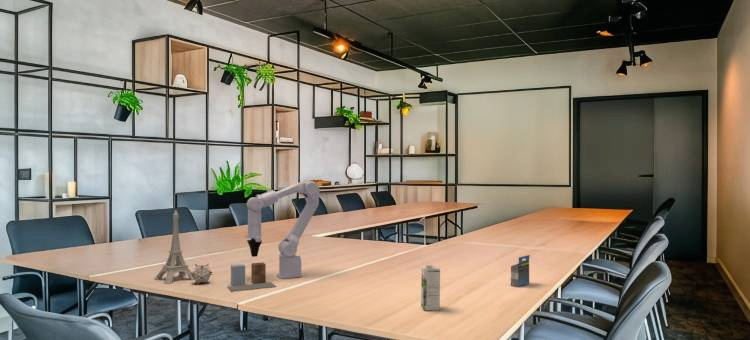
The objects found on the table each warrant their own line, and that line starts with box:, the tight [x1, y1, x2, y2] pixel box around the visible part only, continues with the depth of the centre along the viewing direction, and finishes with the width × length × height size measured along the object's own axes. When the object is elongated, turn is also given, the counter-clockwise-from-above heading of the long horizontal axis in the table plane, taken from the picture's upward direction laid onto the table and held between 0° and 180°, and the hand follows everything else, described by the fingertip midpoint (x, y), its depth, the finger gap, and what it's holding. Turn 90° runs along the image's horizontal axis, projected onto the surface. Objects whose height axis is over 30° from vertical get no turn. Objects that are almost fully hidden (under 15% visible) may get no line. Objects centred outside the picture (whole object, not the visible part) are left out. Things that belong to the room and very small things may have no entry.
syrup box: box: [420, 264, 441, 311], centre depth 176 cm, size 6×6×14 cm
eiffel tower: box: [153, 209, 195, 285], centre depth 219 cm, size 13×13×30 cm
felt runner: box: [226, 282, 277, 292], centre depth 206 cm, size 18×8×1 cm, turn 117°
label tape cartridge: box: [510, 254, 530, 288], centre depth 211 cm, size 9×4×12 cm, turn 134°
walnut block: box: [250, 261, 267, 284], centre depth 214 cm, size 5×4×8 cm
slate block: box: [230, 263, 246, 286], centre depth 210 cm, size 5×4×8 cm
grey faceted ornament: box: [191, 263, 213, 285], centre depth 212 cm, size 9×8×10 cm
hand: (254, 256), depth 220 cm, fingers closed
